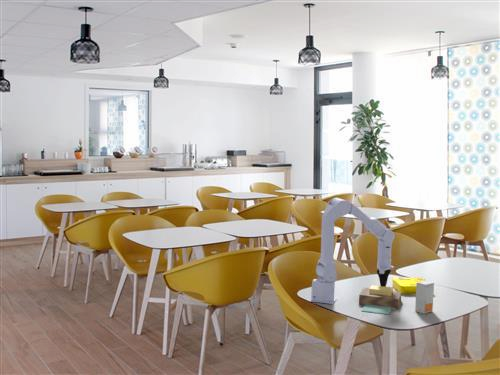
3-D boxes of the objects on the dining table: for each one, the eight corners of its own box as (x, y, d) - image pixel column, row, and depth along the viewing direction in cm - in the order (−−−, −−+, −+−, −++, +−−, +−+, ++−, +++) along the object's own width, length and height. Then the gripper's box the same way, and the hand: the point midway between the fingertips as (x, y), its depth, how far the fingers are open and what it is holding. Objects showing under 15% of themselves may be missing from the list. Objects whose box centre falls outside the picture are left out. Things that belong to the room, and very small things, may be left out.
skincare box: (423, 314, 219) (425, 284, 218) (414, 311, 223) (416, 282, 222) (433, 311, 223) (434, 282, 222) (424, 308, 226) (425, 280, 225)
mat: (361, 311, 222) (361, 310, 222) (364, 304, 230) (364, 304, 230) (389, 314, 218) (389, 313, 218) (391, 308, 226) (392, 307, 226)
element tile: (400, 295, 247) (401, 284, 246) (391, 286, 261) (391, 276, 261) (434, 295, 247) (434, 285, 247) (422, 286, 262) (422, 276, 261)
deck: (358, 304, 231) (359, 294, 231) (363, 296, 242) (363, 287, 242) (398, 308, 225) (398, 299, 225) (401, 300, 237) (401, 291, 236)
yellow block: (369, 293, 233) (369, 288, 233) (371, 289, 239) (371, 285, 239) (391, 295, 230) (391, 291, 230) (392, 292, 236) (392, 287, 235)
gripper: (392, 260, 232) (390, 291, 233) (395, 253, 245) (394, 283, 246) (375, 258, 234) (373, 289, 235) (379, 251, 248) (378, 281, 249)
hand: (383, 286), depth 241 cm, fingers closed
